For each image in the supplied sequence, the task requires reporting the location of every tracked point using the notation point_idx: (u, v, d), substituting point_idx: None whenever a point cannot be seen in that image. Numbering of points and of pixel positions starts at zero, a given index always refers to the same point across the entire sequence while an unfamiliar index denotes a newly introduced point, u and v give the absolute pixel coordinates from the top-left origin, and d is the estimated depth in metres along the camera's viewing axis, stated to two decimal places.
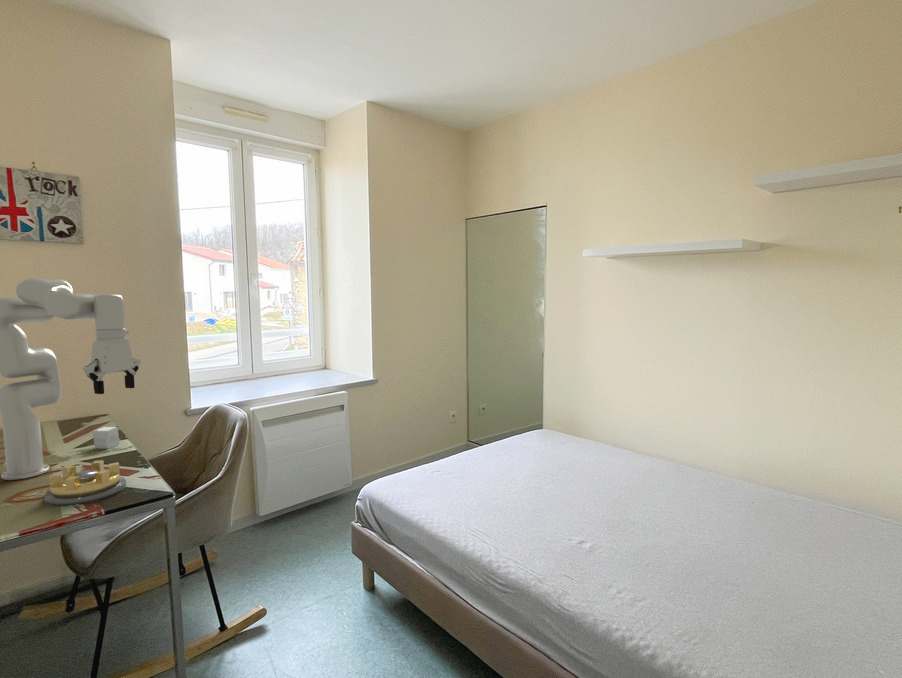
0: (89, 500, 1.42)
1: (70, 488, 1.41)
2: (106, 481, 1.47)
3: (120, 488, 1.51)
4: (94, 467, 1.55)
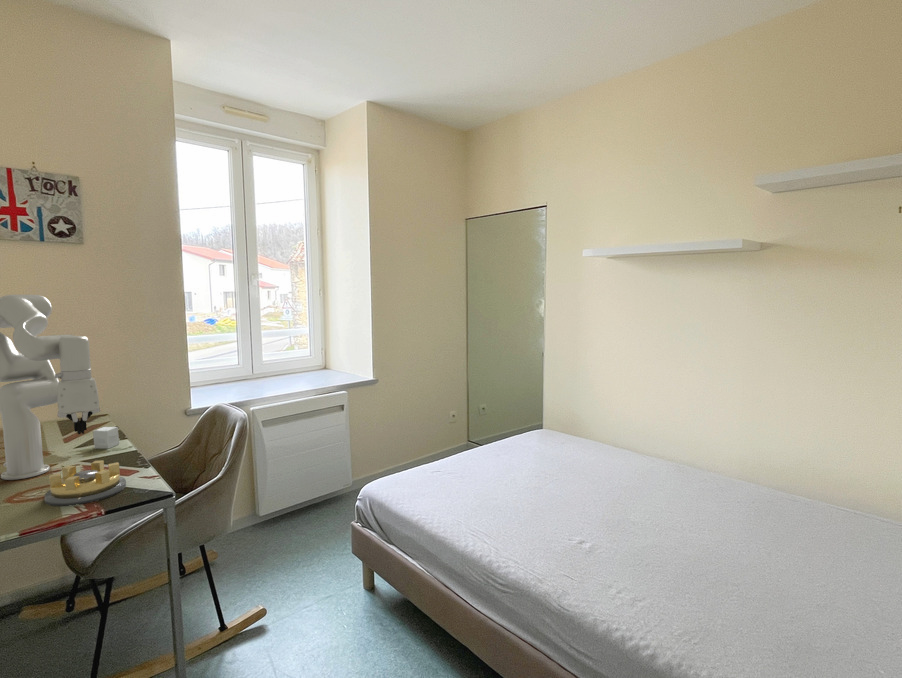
0: (89, 500, 1.42)
1: (70, 488, 1.41)
2: (106, 481, 1.47)
3: (120, 488, 1.51)
4: (94, 467, 1.55)
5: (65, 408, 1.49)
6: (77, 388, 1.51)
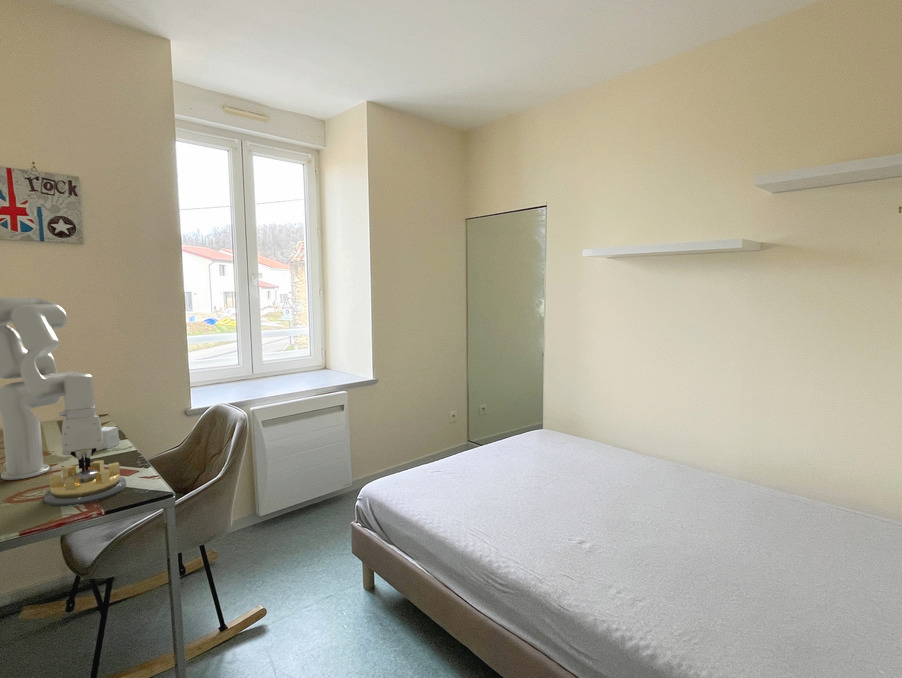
0: (89, 500, 1.42)
1: (70, 488, 1.41)
2: (106, 481, 1.47)
3: (120, 488, 1.51)
4: (94, 467, 1.55)
5: (69, 446, 1.50)
6: (81, 426, 1.52)
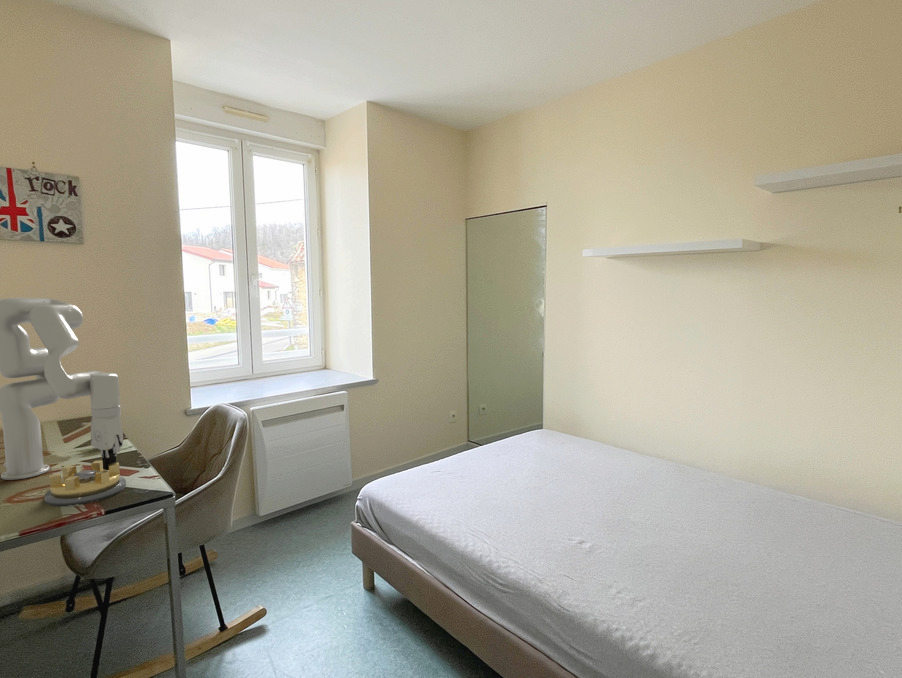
0: (89, 500, 1.42)
1: (50, 485, 1.44)
2: (70, 489, 1.41)
3: (120, 488, 1.51)
4: None
5: (92, 442, 1.55)
6: (97, 425, 1.53)
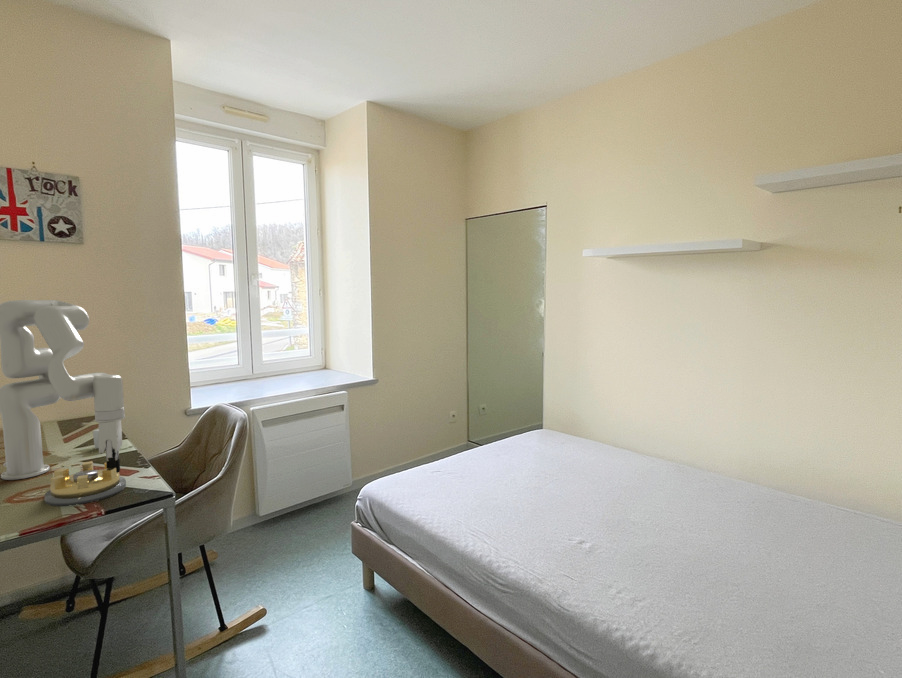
0: (89, 500, 1.42)
1: None
2: (53, 488, 1.42)
3: (120, 488, 1.51)
4: None
5: None
6: None
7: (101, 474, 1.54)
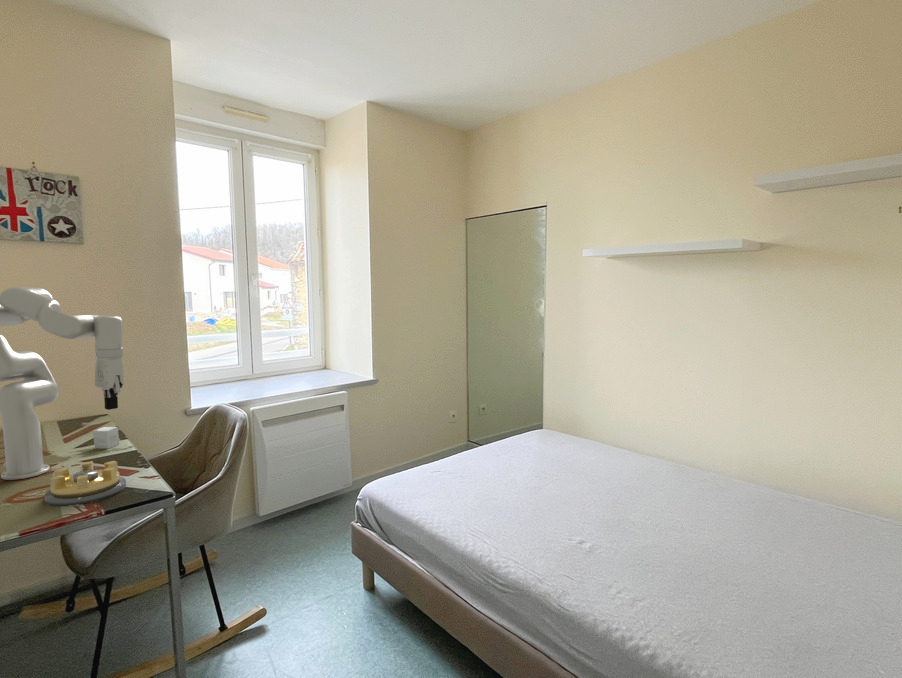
0: (89, 500, 1.42)
1: None
2: (53, 488, 1.42)
3: (120, 488, 1.51)
4: None
5: (96, 381, 1.61)
6: (99, 365, 1.58)
7: (101, 474, 1.54)
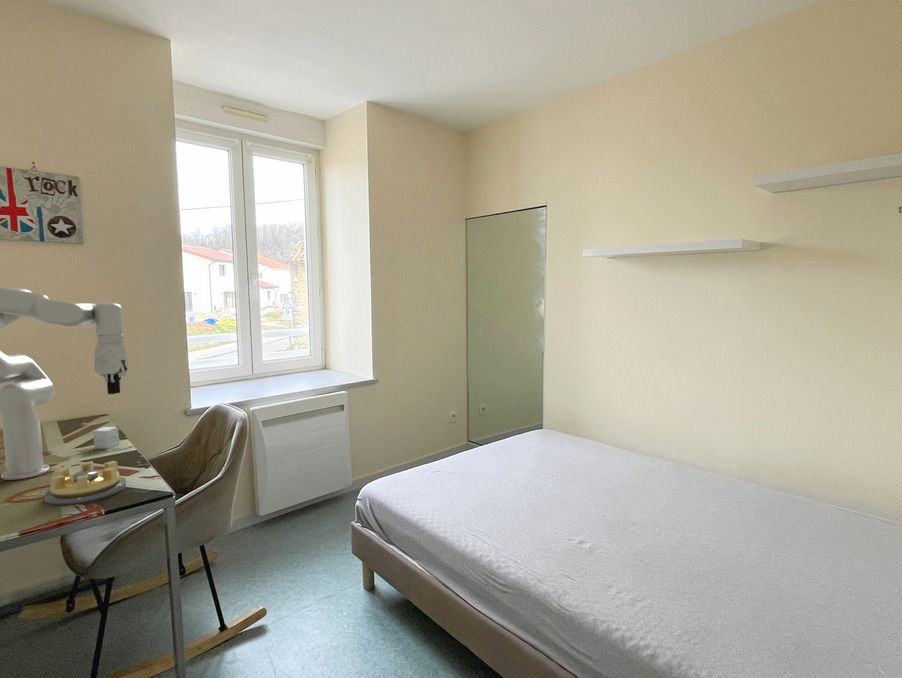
0: (89, 500, 1.42)
1: None
2: (53, 488, 1.42)
3: (120, 488, 1.51)
4: None
5: (97, 368, 1.65)
6: (102, 351, 1.63)
7: (101, 474, 1.54)
